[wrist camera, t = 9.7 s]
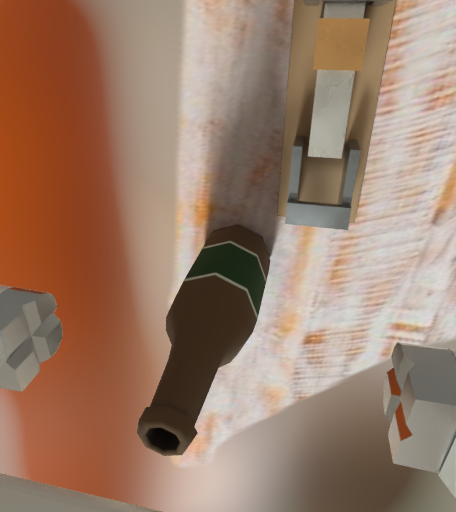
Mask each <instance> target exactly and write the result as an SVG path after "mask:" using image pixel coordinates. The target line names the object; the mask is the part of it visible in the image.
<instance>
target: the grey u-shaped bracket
mask: <svg viewBox="0 0 456 512" xmlns="http://www.w3.org/2000/svg"><path fill="white" fill-rule="evenodd" d="M304 137H305V136H295V140H294V143H293V149H292V159H291V170H290V181H289V192H288V201H287V210H286V220H285V224H292V225H303V226H313V227H323V228H333V229H344V230H348V225H349V220H350V214H351V209H352V208H351V203H352V197H353V191H354V186H355V180H356V174H357V169H358V163H359V157H360V152H361V150H360V147H359V144H358V141H357V139H348V140H347V147H346V153H345V159H344V166H343V172H342V178H341V185H340V191H339V197H338V204H329V203H318V202H306V201H298V194H299V184H300V175H301V165H302V156H303V146H304Z"/></svg>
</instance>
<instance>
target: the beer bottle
mask: <svg viewBox="0 0 456 512" xmlns="http://www.w3.org/2000/svg"><path fill="white" fill-rule="evenodd" d="M269 266H270V259H269V256H268V253H267V250H266V247H265V244H264V241H263V238H262V237H261V236H259V235H257V234H255V233H253V232H251V231H249V230H248V229H246V228H244V227H242V226H240V225H235V226H231V227H227V228H223V229H219V230H215V231H213V232H212V234H211V235H210V237H209V238H208V240H207V242H206V243H205V245H204V247H203V248H202V250H201V252H200V254H199V255H198V257H197V259H196V261H195V262H194V264H193V266H192V268H191V269H190V271H189V273H188V274H187V276H186V278H185V280H184V281H183V283H182V285H181V287H180V289H179V291H178V293H177V295H176V297H175V299H174V301H173V304H172V306H171V308H170V310H169V312H168V315H167V317H166V331H167V334H168V336H169V339H170V342H171V344H172V346H171V351H170V355H169V360H168V362H167V365H166V367H165V370H164V373H163V375H162V377H161V380H160V382H159V385H158V388H157V390H156V393H155V396H154V398H153V400H152V403H151V405H150V407H146V408H145V410H144V412H143V414H142V416H141V417H140V419H139V423H138V430H137V433H138V435H139V437H140V438H141V440H142V441H143V443H144V445H145V446H146V447H148V448H149V449H151V450H154V451H155V452H158V453H160V454H162V455H164V456H167V455H168V456H171V455H182V454H183V453H184V452H185V450H186V449H187V448H188V446H189V445H190V443H191V442H192V440H193V439H194V438H195V436H196V435H197V431H196V429H195V427H194V426H195V423H196V421H197V418H198V416H199V414H200V411H201V409H202V406H203V404H204V401H205V399H206V396H207V394H208V392H209V389H210V387H211V384H212V382H213V379H214V377H215V374H216V372H217V370H218V368H219V367H221V366H223V365H226V364H228V363H230V362H231V361H232V360H233V359H234V358H235V356H236V355H237V354H238V353H239V351H240V350H241V348H242V347H243V346H244V344H245V343H246V341H247V340H248V338H249V337H250V335H251V334H252V332H253V330H254V327H255V324H256V321H257V318H258V314H259V310H260V306H261V301H262V297H263V293H264V288H265V284H266V280H267V276H268V271H269Z"/></svg>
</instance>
